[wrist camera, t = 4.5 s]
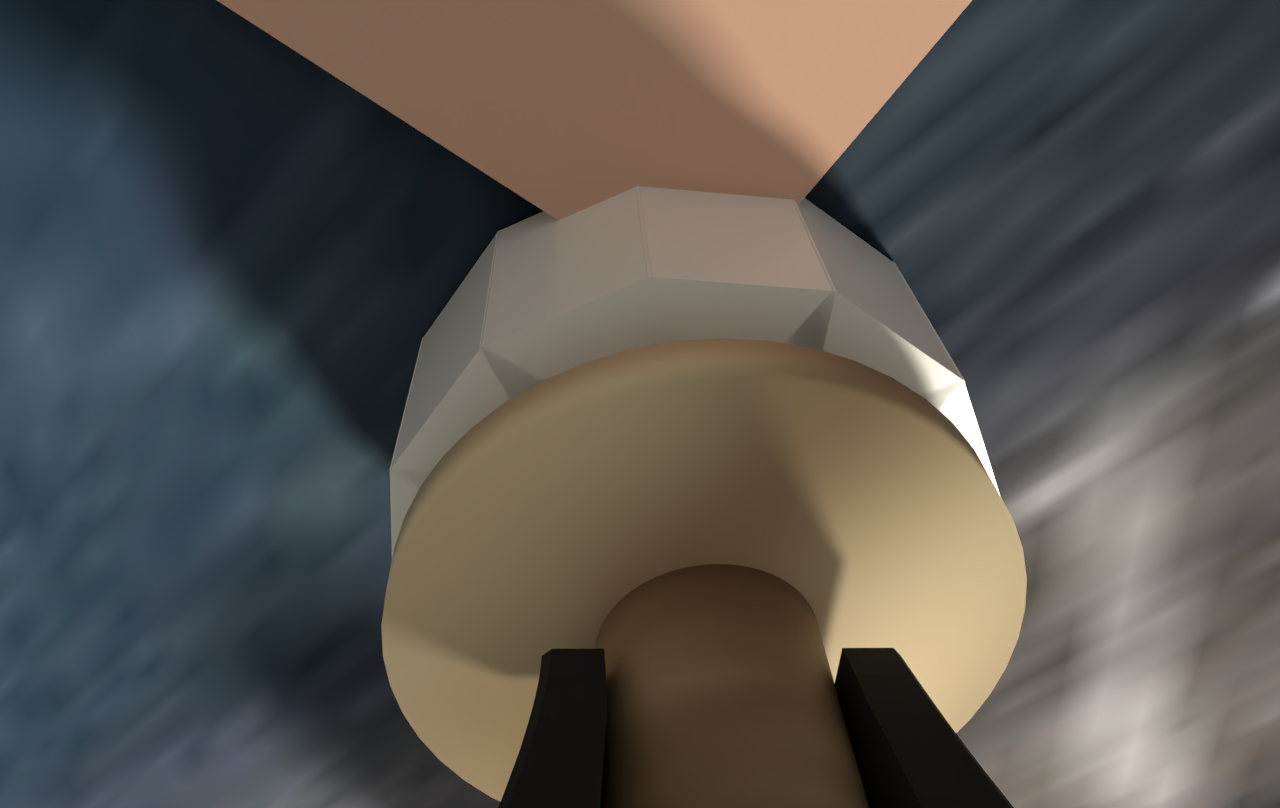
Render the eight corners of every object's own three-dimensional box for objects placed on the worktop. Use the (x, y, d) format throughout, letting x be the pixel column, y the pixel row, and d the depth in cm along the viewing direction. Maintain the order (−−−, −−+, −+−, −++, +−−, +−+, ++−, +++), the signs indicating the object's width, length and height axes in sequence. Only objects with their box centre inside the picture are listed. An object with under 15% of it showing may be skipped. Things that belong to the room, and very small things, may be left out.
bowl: (1028, 359, 18) (1119, 487, 15) (714, 658, 21) (737, 810, 18) (617, 60, 14) (628, 146, 12) (330, 467, 18) (283, 613, 15)
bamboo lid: (1102, 377, 12) (1334, 666, 9) (899, 803, 17) (995, 1115, 13) (402, 300, 11) (327, 595, 7) (381, 780, 15) (326, 1115, 12)
